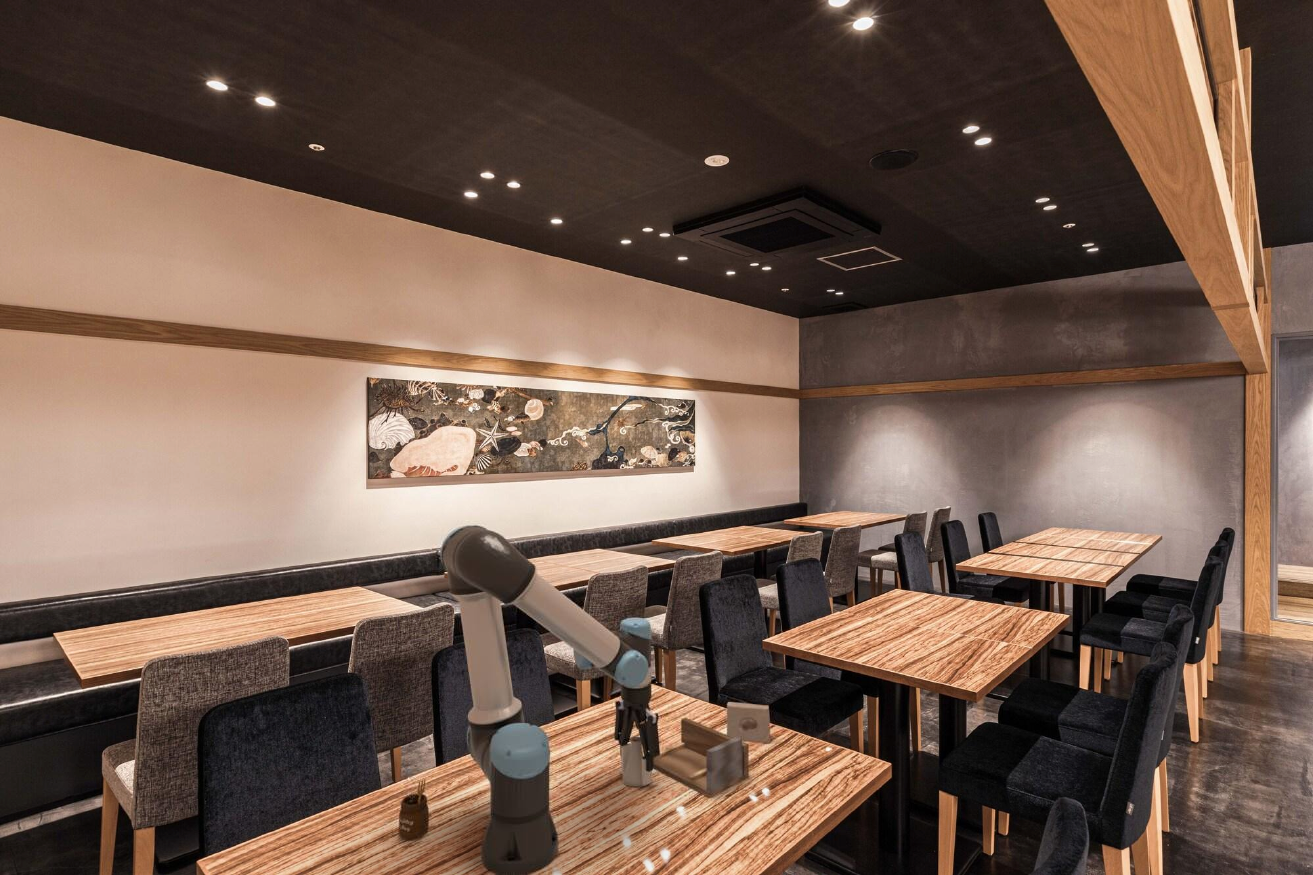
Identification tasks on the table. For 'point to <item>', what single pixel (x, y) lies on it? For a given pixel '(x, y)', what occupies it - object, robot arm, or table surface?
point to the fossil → (748, 722)
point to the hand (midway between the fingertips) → (636, 777)
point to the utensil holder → (414, 814)
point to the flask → (634, 764)
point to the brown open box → (705, 759)
